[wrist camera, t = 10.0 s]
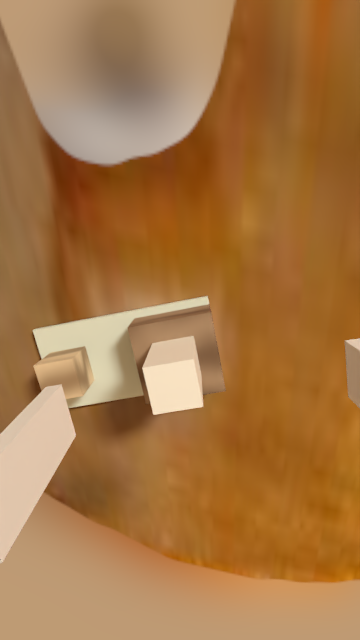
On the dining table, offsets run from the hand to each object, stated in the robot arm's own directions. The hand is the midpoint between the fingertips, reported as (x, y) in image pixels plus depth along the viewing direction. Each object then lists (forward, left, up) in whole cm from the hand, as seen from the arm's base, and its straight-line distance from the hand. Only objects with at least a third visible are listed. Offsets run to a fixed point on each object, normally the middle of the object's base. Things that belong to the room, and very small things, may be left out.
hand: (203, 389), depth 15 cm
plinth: (+7, -4, -29) cm, 30 cm away
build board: (+7, -11, -30) cm, 32 cm away
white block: (+7, -4, -24) cm, 25 cm away
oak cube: (+7, -19, -29) cm, 35 cm away
